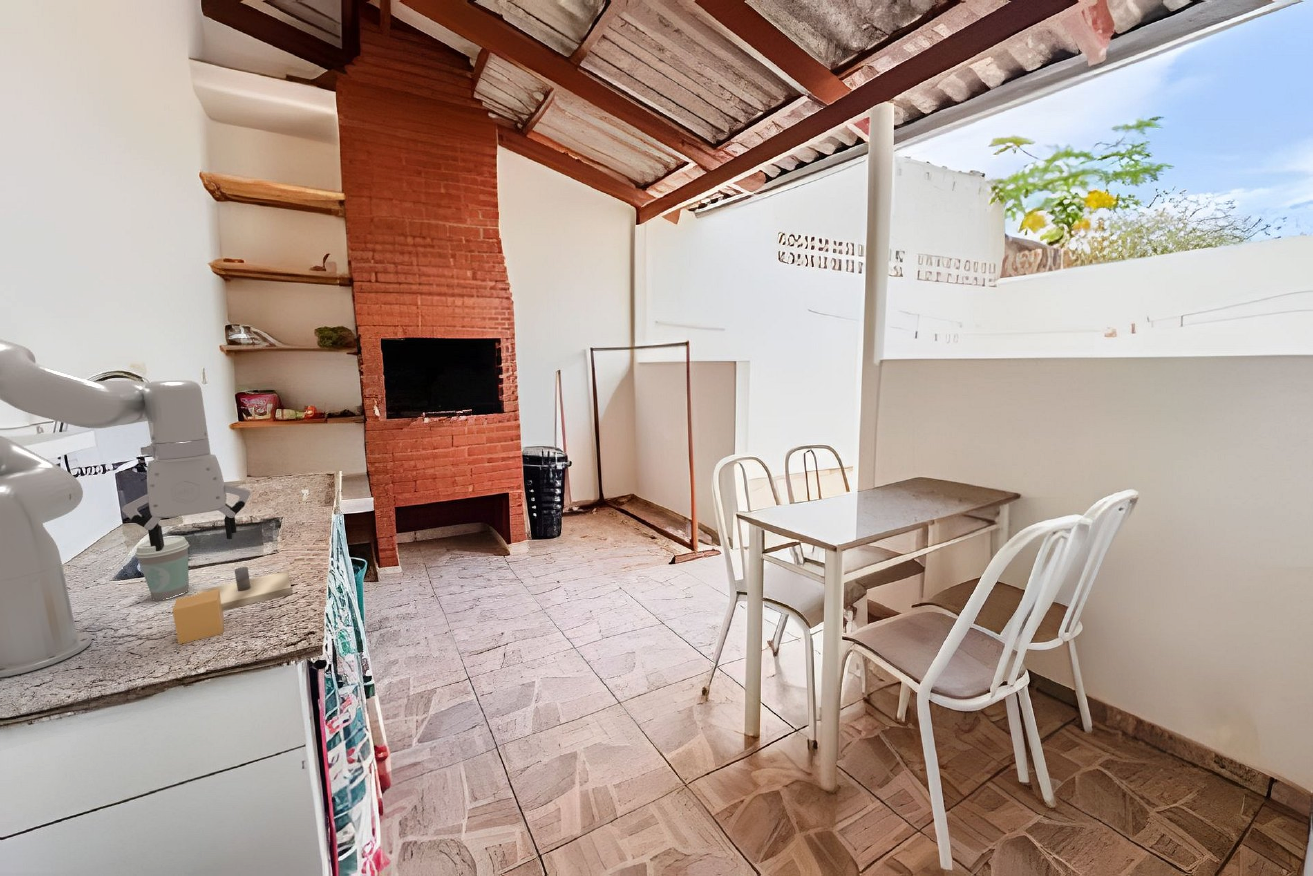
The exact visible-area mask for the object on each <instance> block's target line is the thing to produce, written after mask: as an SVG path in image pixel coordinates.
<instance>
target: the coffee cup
mask: <svg viewBox="0 0 1313 876" xmlns="http://www.w3.org/2000/svg"><path fill="white" fill-rule="evenodd" d="M163 540H164V547H163V549H162V550H161V551H157V552H156V548H155V546H151V545H150V540H148V541H146V542H145V541H144V542H142V543H140V544H138V545H137V547H136V551H135V555H134V556H135V558H137V559H138V563H139V565H140V568H141V571H142V573H143V574H142V575H143V576H144V579H145V582H146V584H147V585H146V586H147V588H148V589H149V593H150V595H151V598H152V600H153V599H154V600H153V601H156V600H160V601H164V600H163V599H166V598H170V597H173V596H175V595H179V594H181V593H184V592H186V591H188V589H189V590H190V585H189V581H190V580H189V547H190V544H189V542H188V541H187V539H186V538H185V536H179V535H176V536H167V537H163ZM188 592H189V591H188Z"/></svg>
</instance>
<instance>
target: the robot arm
mask: <svg viewBox="0 0 1313 876" xmlns="http://www.w3.org/2000/svg"><path fill="white" fill-rule="evenodd" d="M203 398H204V397H203V392H202V387H201V386H200V384H199V383H197V382H196V381H194V380H193V381H192V380H163V381H162V380H160V381H159V380H158V381H151V382H150V381H148V382H147V381H140V380H139V381H137V380H97V381H92V380H88V379H84V378H81V377H78V376H77V377H76V376H74V375H70V374H67V373H64V372H61V371H58V370H54V369H51V368H48V367H45V366H43V365H41V364H38V363H37V362H36V357H35V355H34V353H33V352H32V351H31V350H30V349H29V348H27V347H25V346H23V345H21V344H17V343H14V342H9V341H7V340H3V339H1V338H0V401H2V402H4V403H6V404H8V405H9V406H11V407H13V408H15V409H18V410H20V411H22V412H25V413H27V414H31V415H35V416H38V417H41V418H45V419H49V420H52V421H56V422H60V423H63V424H66V425H67V424H68V425H70V426H74V427H78V428H79V427H80V428H85V429H86V428H87V429H106V428H111V427H112V428H113V427H118V426H125V425H132V424H136V423H137V424H138V423H144V422H147V423H148V430H149V435H150V442H151V443H150V444H149V445H147V446H143V447H142V446H141V447H140V454H141V455H142V456H146V455H147V456H150V457H152V459H153V460H149V461H148V463H147V466H146V468H147V469H146V470H147V471H146V486H147V487H146V489H147V493H146V494H144V495H142V496H141V497H139V498H137V499H135V500H133V501H131V502H129V503H127V504H125V505H123V506H122V508H121V511H122V512H123V513H124V515H125V516H127V517H128V518H129V519H130V521H131V522H132V523H134V524H135V525H136V524H137V525H139V526H141V527H142V528H144V529H145V530H147V533H148V539H149V540H148V541H150V545H151V546H155V548H156V552H157V551H161V550H162V549H163V547H164V540H163V538H164V535H163V529H162V525H160V524H159V522H160V521H161V520H162V519H168V518H177V517H183V516H190V515H197V514H199V515H200V514H203V513H211V512H216V511H218V512H220V513H222V514H223V515H225V516H224V519H223V521H224V527H225V535H226V540H232V539H233V535H234V534H236V533H237V532H238V531H237V523H236V515H238V513H239V512H241V510H242V509H244V507H245V505H246V503H247V501H248V499H249V498H250V496H251V490H249V489H246V488H241V487H238V486H234V485H231V484H227V483H225V482H224V476H223V472H222V469H221V466H220V463H219V460H218V458H217V455H216V454H213V453H212V454H211V447H210V441H209V440H210V439H209V433H208V426H207V420H206V411H205V405H204V399H203ZM227 494H232V495H234V496H238V497H239V498H238V500H237V502H235V504H234V505H232V506H231V505H230V504H228V503H227ZM83 495H84V491H83V486H82V484H81V482H80V481H79V480H78V479H77V478H76V477H75V476H74V475H73V474H71V472H69V471H67V470H66V469H64V468H62V467H60V466H59V465H58V464H55V463H53V462H51V461H50V460H48V459H46V458H45V457H42V456H41V455H39V454H37V453H35V452H33V451H32V450H30V449H28V448H26V447H24V446H22V445H21V444H18V443H17V442H15V441H13V440H12V439H9V438H7V437H5V436H2V435H0V678H5V677H12V676H16V675H21V674H25V673H26V674H27V673H29V672H33V671H36V670H39V669H43V668H45V667H49V666H52V665H54V664H56V663H60V662H62V661H65V660H66V659H69V658H71V657H73V656H75V655H77V654H78V653H81V652H82V651H83V650H85V649H87V648H88V647H89V646H90V645H91V644H92V640H93V639H92V637H91V634H90V633H87V632H82V631H81V632H79V631H77V628H76V624H75V623H76V621H75V617H74V614H73V609H72V604H71V599H70V595H69V591H68V586H67V581H66V575H65V571H64V567H63V563H62V558H61V554H60V550H59V548H58V545H57V543H56V541H55V539H54V537H52V535H51V534H50V533H49V531H47V529H46V527H45V526H44V524H45V523H48V522H50V521H52V520H56V519H59V518H60V517H63V516H65V515H68V514H69V513H71V512H72V511H74V510H76V508H77V507H79V505H80V504H81V502H82V500H83V497H84V496H83ZM146 504H148V508H149V512H150V516H151V517H150V518H149V517H148V516H145V515H143V514H141V513H140V512H139V511H138V509H139V508H140V507H142V506H144V505H146Z"/></svg>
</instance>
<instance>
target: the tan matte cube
mask: <svg viewBox="0 0 1313 876" xmlns="http://www.w3.org/2000/svg"><path fill="white" fill-rule="evenodd" d="M172 615H173V621H174V625H175V630H176V637H177V642H178V645H179V644H180V645H183V644H182V643H184V644H186V642H188V643H191V641H192V642H195V641H199V640H203V639H207V638H209V637H214V636H218V635H221V634H223V632H224V626H225V617H224V612H223V610H222V604H221V598H220V592H219V589H218V590H213V591H209V592H204V593H200V594H197V593H196V594H191V595H188V596H183V597H182V596H181V597H176V600H175V603H174V605H173V608H172ZM194 640H195V641H194Z"/></svg>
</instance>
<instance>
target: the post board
mask: <svg viewBox="0 0 1313 876" xmlns="http://www.w3.org/2000/svg"><path fill="white" fill-rule="evenodd" d="M289 572H290V571H289V570H286V571H284V570H283V571H280V572H277V573H272V574H267V575H262V576H258V577H254V578H250V574H249V569H248V567H247V566H242V567H238V568H235V569H234V576H235V581H233V582H230V583H225V584H221V585H216V586H213V587H207V588H204V589H198V590H197V592H196V594H200V593H204V592H209V591H213V590H218V589H219V592H220V598H221V604H222V610H223V611H227V610H231V609H236V608H239V607H244V606H247V604H248V605H252V604H256V603H255V602H257V603H259V602H264V600H265V601H268V600H272V599H276V598H281V597H285V596H288V595H289V596H290V595H292V593H293V591H292V586H291V584H292V583H291V577H290V573H289ZM235 607H236V608H235Z"/></svg>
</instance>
